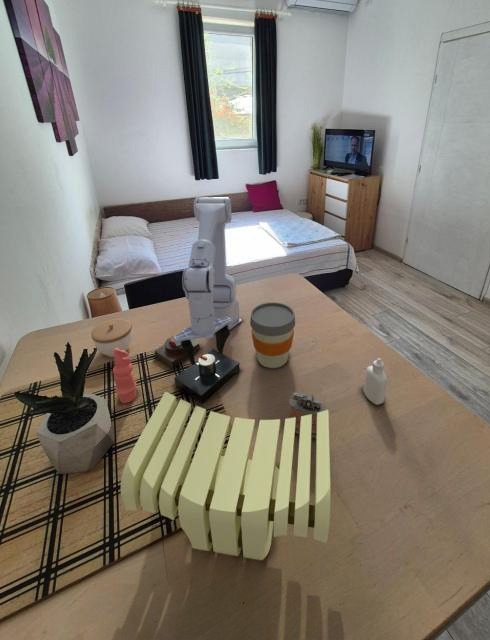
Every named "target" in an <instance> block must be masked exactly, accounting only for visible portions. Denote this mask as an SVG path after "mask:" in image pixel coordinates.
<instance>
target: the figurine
mask: <svg viewBox="0 0 490 640" xmlns="http://www.w3.org/2000/svg"><path fill="white" fill-rule="evenodd" d="M128 355H130V353H129V352H128V351H127V350H126V351H123V350H119V349H118V348H115V349H114V357H113V360H114V366H113V368H112V374H113V375H114V376H113V380H114V383H115V388H114V392H115V394H117V396H118V399H119V402H120V403H124V404H128V403H130V402H132V401H134V400H135V398H136V397H137V391H136V387H137V384H138V383H137V381H136V380H135V379H134V376H133V373H132V371H133V369H134V366H133V363H132V361H131V359H130V357H128Z"/></svg>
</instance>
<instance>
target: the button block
mask: <svg viewBox="0 0 490 640" xmlns="http://www.w3.org/2000/svg"><path fill="white" fill-rule="evenodd" d="M190 341H191V342H192V345H193V346H194V354H195V353H196V352H197V351H199V350H200V343H199V342H198V341H196V340H195V339H191V340H190ZM154 357H155V358H157V359H158V360H160V361H161V362H163V363H165V364H166V365H167V366H169V367H170V368H172V369H174V368H175V367H177V366H178V365H180V364H181V363H182V362H184V361H185V360H187V359H189V357H188V355H187V353H186V352H185V351H184V349H183V348H182V346H181V345H180V346H177V347H172V346H171V345H170V337H168V338H167V339H166V340H165V342H164V344H163V345H161V346H160V347H158V348H157V349H155V350H154Z"/></svg>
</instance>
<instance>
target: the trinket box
mask: <svg viewBox="0 0 490 640" xmlns="http://www.w3.org/2000/svg"><path fill="white" fill-rule="evenodd" d="M133 333H134V332H133V325H132V322H131V321H130V320H129V319H126V318H112V319H108V320H105V321H103V322H100V323H99V324H97V325H96V326H95V327H94V328H93V329H92V331H91V333H90V335H91V339H92V341H93V344H94V347H95V349H97V351H98V352H99V353H101V354H102V355H104V356H107V357H109V358H110V357H111V358H114V349H115V348H118V349H119V350H123V351H126V352H127V351H128V349H129V348H130V346H131V344H132V342H133V336H134V335H133Z"/></svg>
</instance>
